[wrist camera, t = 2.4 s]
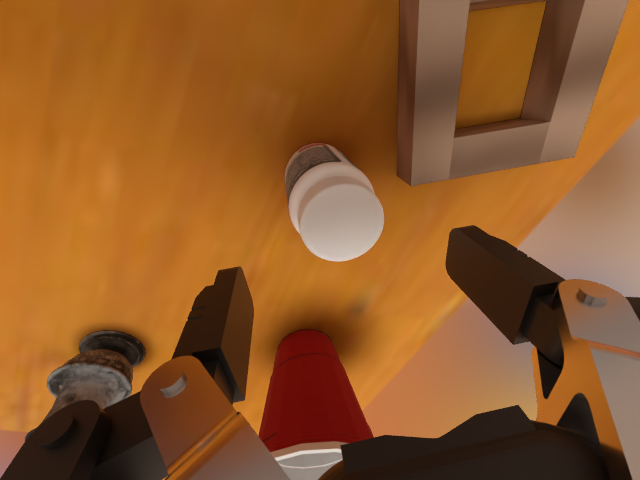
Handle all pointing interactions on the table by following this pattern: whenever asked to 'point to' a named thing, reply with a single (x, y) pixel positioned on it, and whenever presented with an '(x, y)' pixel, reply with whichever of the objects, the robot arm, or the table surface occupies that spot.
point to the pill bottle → (332, 203)
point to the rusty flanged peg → (97, 371)
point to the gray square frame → (540, 100)
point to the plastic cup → (310, 407)
